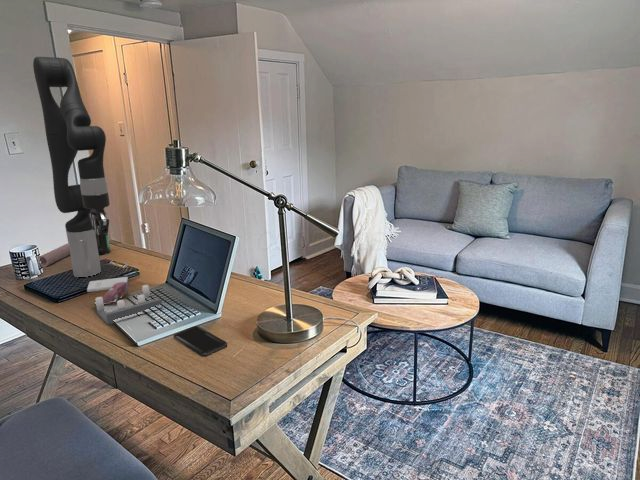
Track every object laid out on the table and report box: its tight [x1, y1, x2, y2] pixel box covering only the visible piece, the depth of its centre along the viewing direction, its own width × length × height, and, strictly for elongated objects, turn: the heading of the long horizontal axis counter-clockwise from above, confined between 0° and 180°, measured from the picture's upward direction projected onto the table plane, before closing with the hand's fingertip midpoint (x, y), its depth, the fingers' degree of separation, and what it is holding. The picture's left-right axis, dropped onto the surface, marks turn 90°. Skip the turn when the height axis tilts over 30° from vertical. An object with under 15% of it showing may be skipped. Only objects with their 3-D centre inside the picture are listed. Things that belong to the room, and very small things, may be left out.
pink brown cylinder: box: [39, 243, 70, 268], centre depth 186 cm, size 5×5×18 cm
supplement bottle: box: [95, 232, 111, 256], centre depth 193 cm, size 7×7×12 cm
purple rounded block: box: [102, 281, 131, 304], centre depth 147 cm, size 10×5×7 cm, turn 168°
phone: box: [173, 325, 228, 358], centre depth 121 cm, size 8×1×15 cm
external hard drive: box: [86, 276, 129, 293], centre depth 160 cm, size 2×8×12 cm
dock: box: [94, 284, 162, 326], centre depth 139 cm, size 10×16×5 cm, turn 132°
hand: (102, 244), depth 148 cm, fingers closed
